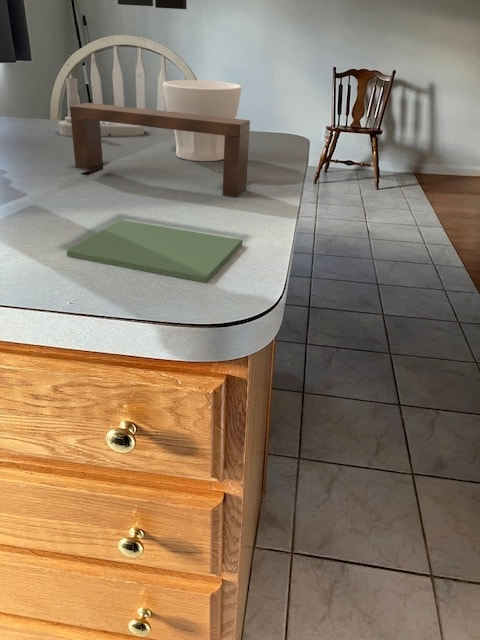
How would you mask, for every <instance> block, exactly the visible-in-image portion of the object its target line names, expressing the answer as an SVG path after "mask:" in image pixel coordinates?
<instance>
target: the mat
mask: <svg viewBox="0 0 480 640" xmlns="http://www.w3.org/2000/svg"><path fill="white" fill-rule="evenodd" d="M242 246H243V239H239V238H233V237H229V236H228V237H226V236H221V235H215V234H209V233H203V232H197V231H192V230H186V229H185V230H184V229H179V228H173V227H166V226H162V225H155V224H150V223H143V222H137V221H131V220H125V219H119V220H116V221H115V222H113V223H112V224H110V225H108V226H107V227H104V228H103V229H100V230H99V231H98V232H96V233H94V234H92V235H91V236H89V237H87V238H86V239H84V240H82V241H81V242H78V243H77V244H75V245H74V246H72V247H69V248H68V249H67V250H66V257H68V258H74V259H78V260H79V259H80V260H84V261H85V260H86V261H89V262H96V263H100V264H106V265H111V266H117V267H121V268H127V269H132V270H138V271H143V272H146V273H147V272H148V273H153V274H157V275H162V276H168V277H174V278H178V279H179V278H180V279H185V280H190V281H194V282H200V283H208V282H209V281H210V280H211V278H213V276H214V275H216V273H218V271H220V269H221V268H222V267H223V266H224V265H225V264H226V263H227V262H228V261H229V260H230V259H231V258H232V256H233V255H234V254H235V253H236V252H237V251H238V250H239V249H240V248H241V247H242Z"/></svg>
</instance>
